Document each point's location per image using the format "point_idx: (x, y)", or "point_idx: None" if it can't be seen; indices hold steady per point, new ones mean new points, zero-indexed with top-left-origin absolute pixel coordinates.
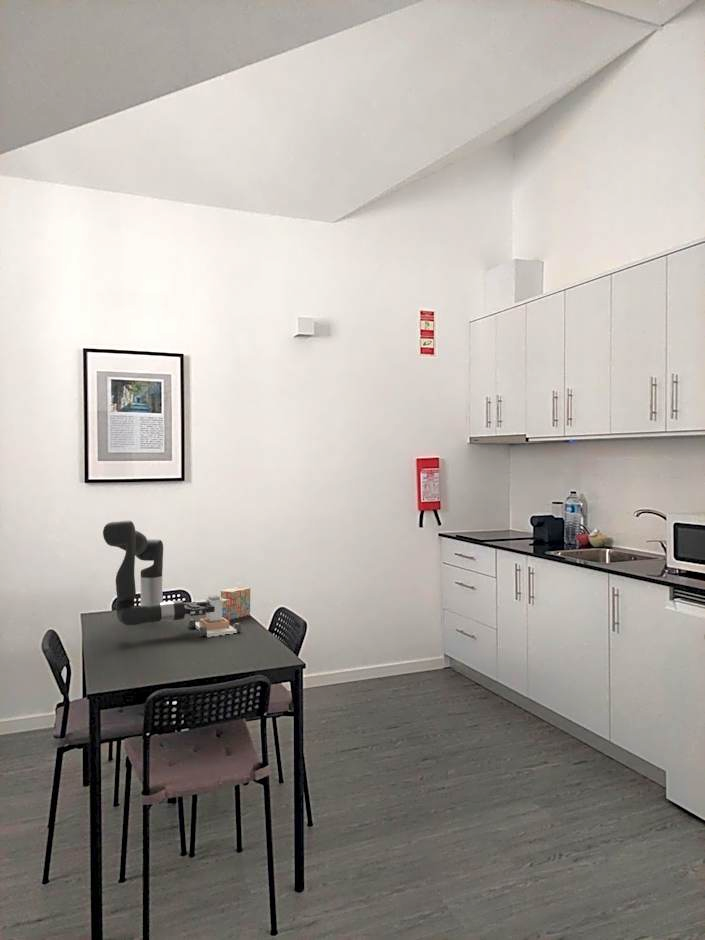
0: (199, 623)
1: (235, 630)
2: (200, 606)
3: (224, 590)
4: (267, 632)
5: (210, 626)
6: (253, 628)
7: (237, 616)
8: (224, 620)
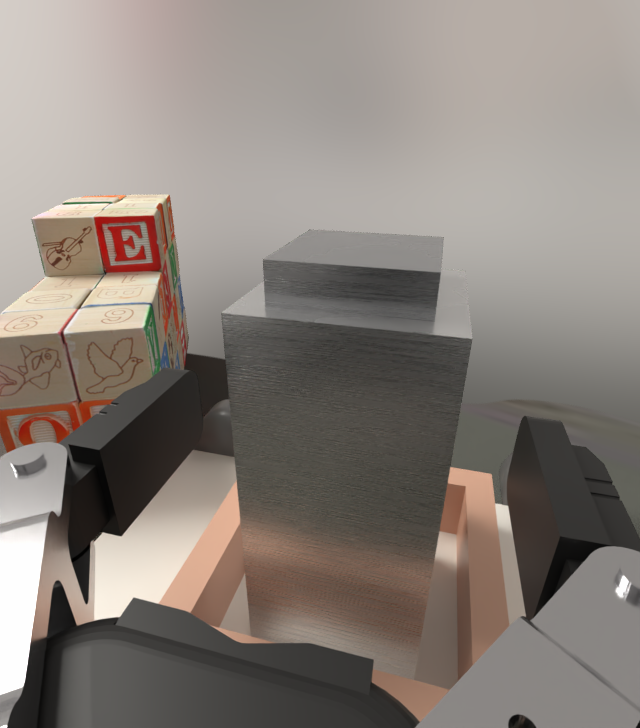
0: None
1: None
2: (129, 486)
3: (59, 214)
4: (613, 420)
5: None
6: (470, 421)
7: (181, 368)
8: None
